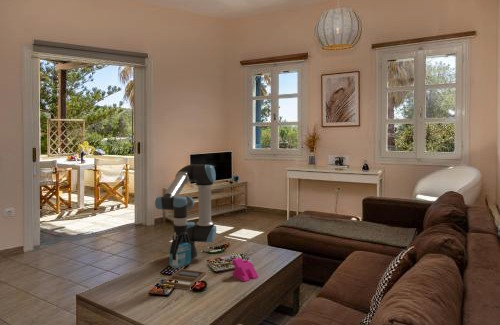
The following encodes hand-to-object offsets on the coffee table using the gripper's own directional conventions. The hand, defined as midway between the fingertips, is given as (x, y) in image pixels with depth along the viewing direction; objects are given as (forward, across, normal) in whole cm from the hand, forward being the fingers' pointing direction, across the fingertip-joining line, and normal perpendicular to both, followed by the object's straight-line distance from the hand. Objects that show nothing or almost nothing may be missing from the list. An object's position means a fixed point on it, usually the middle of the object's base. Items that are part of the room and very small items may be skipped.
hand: (180, 261), depth 216 cm
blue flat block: (+2, 0, 0) cm, 2 cm away
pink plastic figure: (+14, -23, +31) cm, 41 cm away
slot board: (+14, -5, 0) cm, 15 cm away
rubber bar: (+13, -10, 0) cm, 16 cm away
